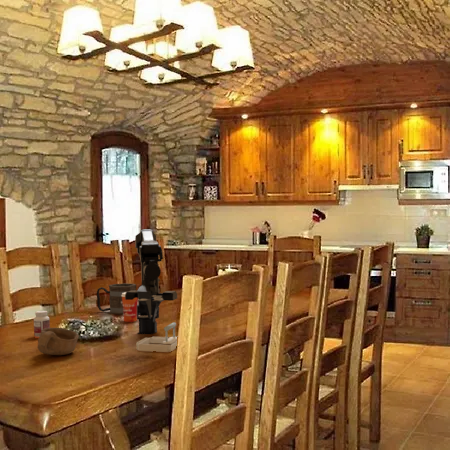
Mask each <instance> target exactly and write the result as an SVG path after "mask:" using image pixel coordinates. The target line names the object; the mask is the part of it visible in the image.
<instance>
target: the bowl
mask: <svg viewBox="0 0 450 450" xmlns="http://www.w3.org/2000/svg"><path fill="white" fill-rule="evenodd" d="M79 338H80V335H79V333H77V332H76V331H74V330H71V329H66V328H63V327H50V328H44V329H42V330H41V334H40V336H39V338H37V351H39V352H40V353H41V354H44V355H49V356H51V355H52V356H65V355H69V354H71V353H72V352H74V351H75V349H76V348H77V343H78V340H79Z"/></svg>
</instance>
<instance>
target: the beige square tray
mask: <svg viewBox="0 0 450 450" xmlns="http://www.w3.org/2000/svg"><path fill="white" fill-rule="evenodd" d="M170 337H171V336H168V339H169V338H170ZM165 340H166V337H165V336H152V337H144V338H141V340H138V341H137V342H136V343H135V344H136V345H135V348H136V351H139V352H153V351H156V353H157V352H158V353H169V352H171V351H172V352H173V351H174V350H176V349H177V348H176V346H177V340H176V341H175V342H173V343H171V344H163V342H164V341H165Z"/></svg>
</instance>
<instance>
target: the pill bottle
mask: <svg viewBox="0 0 450 450" xmlns="http://www.w3.org/2000/svg"><path fill="white" fill-rule="evenodd" d="M34 314H35V317H34V318H33V332H34V333H33V334H34V335H33V336H34V338H35V339H39V336H40V334H41V330H42V329H44V328H51V326H50V325H51V323H50V322H51V321H50V317H49V316H48V311H47V310H38V311H35V313H34Z"/></svg>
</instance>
